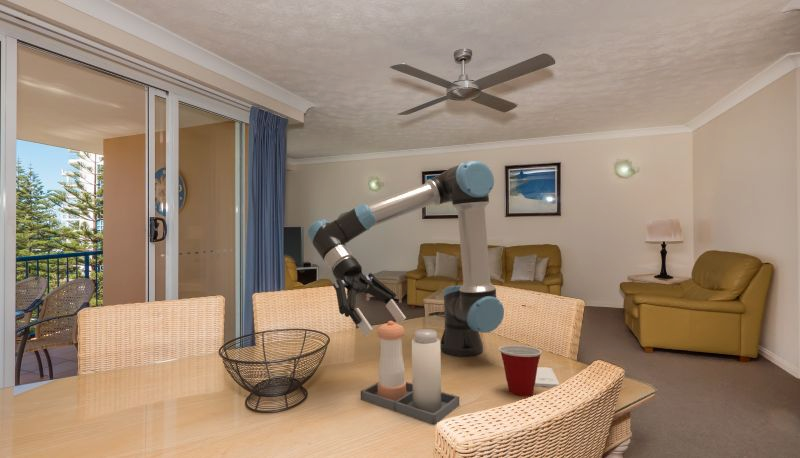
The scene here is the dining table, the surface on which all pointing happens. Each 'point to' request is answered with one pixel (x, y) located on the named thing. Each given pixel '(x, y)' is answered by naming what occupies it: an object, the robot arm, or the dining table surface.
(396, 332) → the pepper shaker
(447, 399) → the shaker caddy
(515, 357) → the plastic cup
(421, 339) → the salt shaker
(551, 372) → the external hard drive
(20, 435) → the dining table surface
